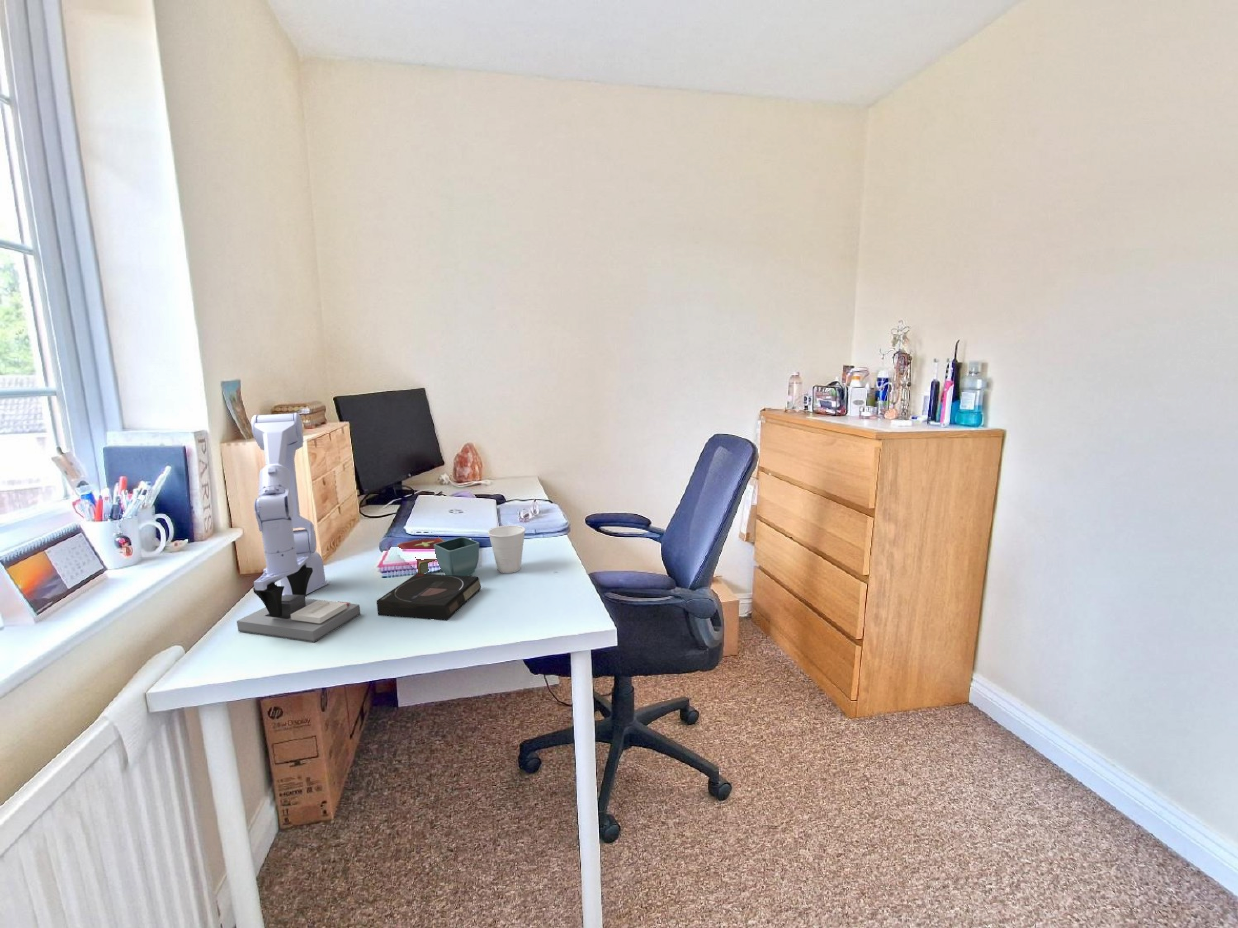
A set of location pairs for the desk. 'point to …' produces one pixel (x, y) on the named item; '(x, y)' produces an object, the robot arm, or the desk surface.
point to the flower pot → (457, 556)
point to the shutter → (318, 611)
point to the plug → (291, 605)
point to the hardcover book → (421, 544)
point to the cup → (507, 547)
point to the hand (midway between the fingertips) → (288, 608)
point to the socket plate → (296, 624)
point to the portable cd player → (429, 596)
